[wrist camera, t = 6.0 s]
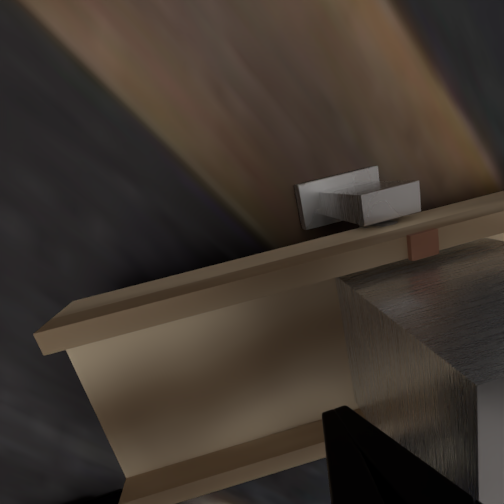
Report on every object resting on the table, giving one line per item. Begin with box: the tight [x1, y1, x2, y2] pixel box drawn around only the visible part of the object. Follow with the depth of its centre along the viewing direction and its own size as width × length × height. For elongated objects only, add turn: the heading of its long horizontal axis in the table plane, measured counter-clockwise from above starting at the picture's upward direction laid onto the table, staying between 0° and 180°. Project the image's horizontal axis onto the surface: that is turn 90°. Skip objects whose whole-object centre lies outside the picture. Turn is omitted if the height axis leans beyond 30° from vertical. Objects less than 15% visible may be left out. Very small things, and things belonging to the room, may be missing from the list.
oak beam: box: [33, 191, 504, 504], centre depth 12 cm, size 8×26×4 cm, turn 103°
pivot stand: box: [294, 166, 421, 230], centre depth 14 cm, size 13×4×5 cm, turn 13°
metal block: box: [335, 238, 504, 504], centre depth 9 cm, size 6×6×6 cm
